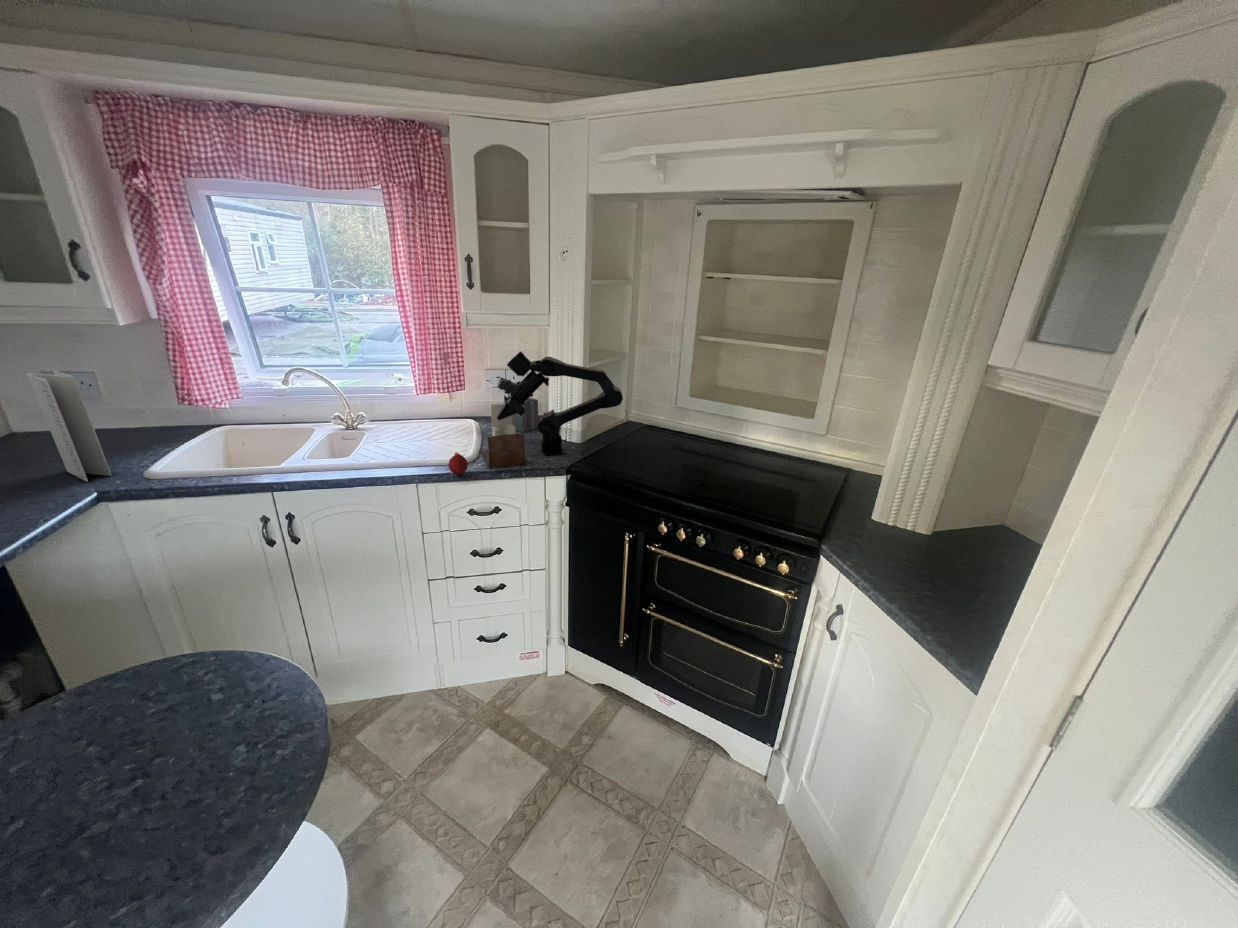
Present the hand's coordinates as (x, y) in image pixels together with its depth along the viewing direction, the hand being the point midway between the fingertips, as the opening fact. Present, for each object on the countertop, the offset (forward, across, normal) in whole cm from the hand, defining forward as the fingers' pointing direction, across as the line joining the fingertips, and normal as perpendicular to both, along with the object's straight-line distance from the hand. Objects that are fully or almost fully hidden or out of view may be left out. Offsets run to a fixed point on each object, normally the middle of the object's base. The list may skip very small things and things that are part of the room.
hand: (497, 418), depth 172 cm
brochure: (+95, -4, -76) cm, 122 cm away
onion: (+19, +17, 0) cm, 26 cm away
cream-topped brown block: (+9, +4, +10) cm, 14 cm away
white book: (+4, 0, +6) cm, 7 cm away
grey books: (+2, -29, +18) cm, 34 cm away
